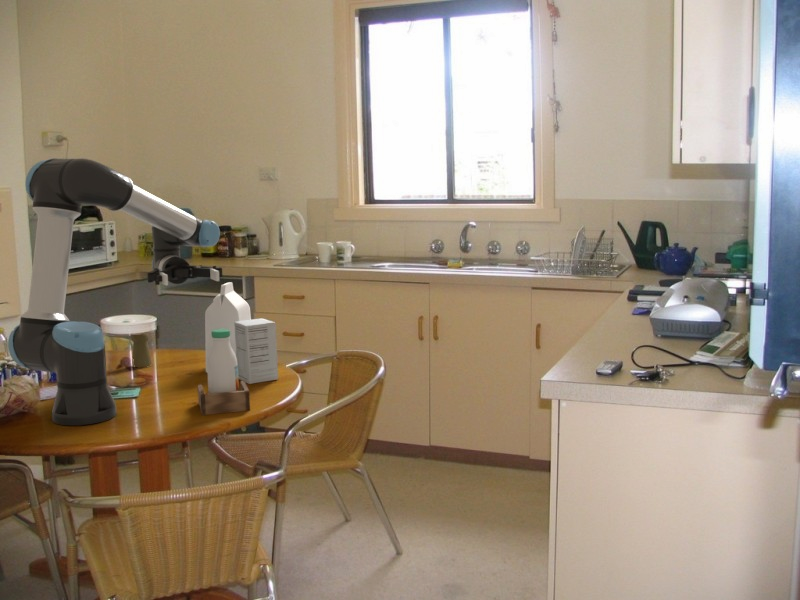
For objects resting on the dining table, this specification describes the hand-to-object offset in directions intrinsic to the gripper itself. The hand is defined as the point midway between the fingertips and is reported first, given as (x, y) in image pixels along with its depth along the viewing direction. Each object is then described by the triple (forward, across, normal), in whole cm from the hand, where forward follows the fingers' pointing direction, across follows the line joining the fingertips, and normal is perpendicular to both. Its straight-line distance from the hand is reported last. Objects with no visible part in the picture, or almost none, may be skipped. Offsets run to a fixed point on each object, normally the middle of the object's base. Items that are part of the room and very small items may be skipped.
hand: (192, 278), depth 236 cm
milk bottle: (+14, -3, -32) cm, 35 cm away
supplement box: (-10, -20, -32) cm, 39 cm away
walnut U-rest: (+14, -3, -32) cm, 35 cm away
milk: (-27, -16, -32) cm, 45 cm away
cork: (-44, +7, -32) cm, 55 cm away
